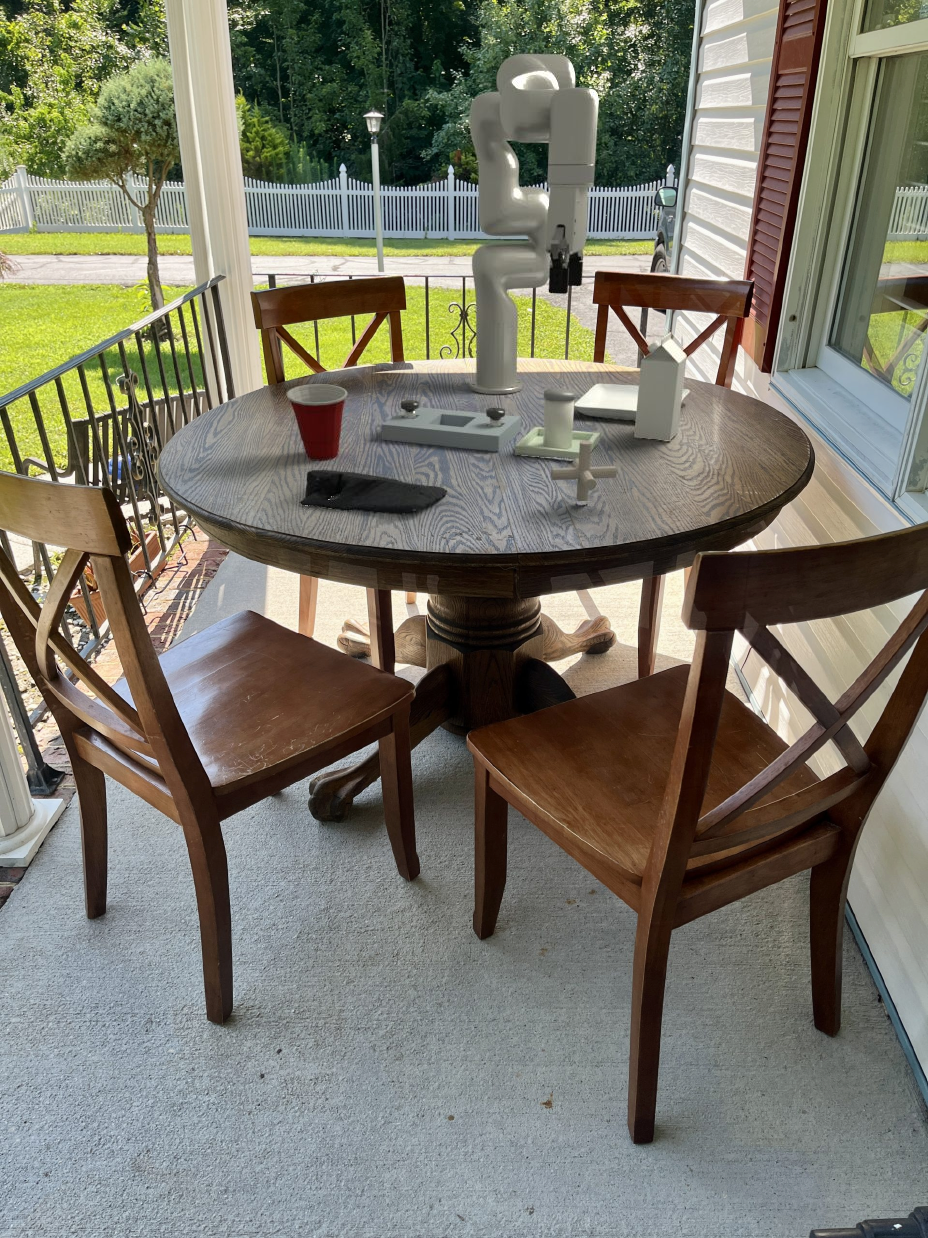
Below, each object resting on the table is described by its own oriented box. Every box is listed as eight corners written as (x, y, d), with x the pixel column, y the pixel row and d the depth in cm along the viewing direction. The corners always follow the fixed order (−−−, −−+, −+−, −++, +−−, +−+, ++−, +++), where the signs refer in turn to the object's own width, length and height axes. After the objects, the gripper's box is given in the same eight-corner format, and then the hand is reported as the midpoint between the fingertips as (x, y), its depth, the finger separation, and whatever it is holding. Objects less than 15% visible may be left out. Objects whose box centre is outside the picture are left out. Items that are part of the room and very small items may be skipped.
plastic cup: (303, 468, 150) (296, 401, 144) (285, 452, 158) (278, 388, 153) (360, 459, 154) (356, 393, 149) (340, 443, 163) (335, 381, 157)
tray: (534, 435, 166) (535, 426, 166) (599, 442, 162) (600, 433, 162) (514, 455, 156) (514, 445, 155) (583, 462, 152) (584, 453, 151)
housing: (411, 420, 177) (410, 406, 175) (520, 431, 169) (521, 416, 168) (382, 439, 165) (381, 424, 164) (498, 451, 158) (498, 436, 156)
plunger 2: (489, 434, 166) (489, 406, 164) (507, 436, 165) (507, 408, 162) (483, 439, 163) (483, 411, 161) (501, 441, 162) (501, 413, 160)
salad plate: (571, 420, 177) (571, 403, 176) (595, 396, 195) (596, 381, 193) (672, 430, 170) (674, 413, 169) (688, 404, 188) (690, 388, 186)
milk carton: (678, 432, 167) (689, 333, 158) (669, 442, 162) (681, 340, 153) (642, 428, 170) (652, 330, 161) (633, 438, 164) (642, 337, 155)
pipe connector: (545, 493, 138) (547, 434, 133) (605, 491, 139) (610, 431, 134) (556, 516, 129) (559, 453, 124) (620, 514, 130) (625, 451, 125)
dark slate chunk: (414, 527, 127) (413, 498, 125) (290, 507, 135) (287, 479, 133) (454, 494, 140) (454, 466, 137) (339, 477, 147) (337, 451, 145)
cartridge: (545, 439, 162) (547, 387, 157) (575, 442, 160) (578, 389, 156) (538, 448, 157) (540, 394, 152) (569, 451, 156) (572, 396, 151)
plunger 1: (406, 426, 172) (405, 399, 169) (422, 427, 171) (421, 400, 168) (398, 431, 169) (397, 403, 166) (415, 432, 168) (414, 405, 165)
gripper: (562, 175, 145) (557, 282, 154) (533, 178, 131) (530, 295, 140) (605, 175, 143) (598, 283, 151) (580, 178, 129) (574, 297, 137)
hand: (565, 289), depth 145 cm, fingers open, 9 cm apart
